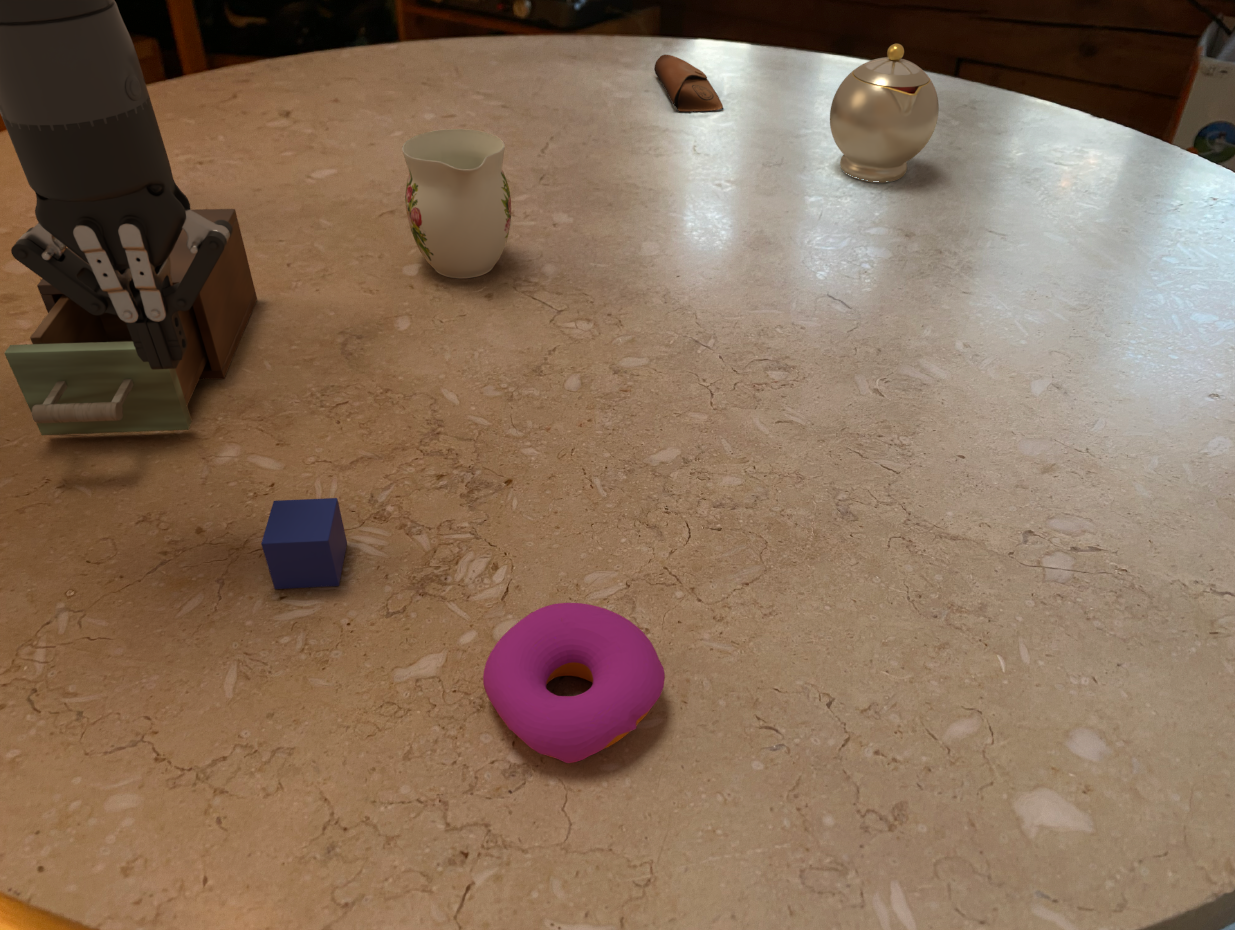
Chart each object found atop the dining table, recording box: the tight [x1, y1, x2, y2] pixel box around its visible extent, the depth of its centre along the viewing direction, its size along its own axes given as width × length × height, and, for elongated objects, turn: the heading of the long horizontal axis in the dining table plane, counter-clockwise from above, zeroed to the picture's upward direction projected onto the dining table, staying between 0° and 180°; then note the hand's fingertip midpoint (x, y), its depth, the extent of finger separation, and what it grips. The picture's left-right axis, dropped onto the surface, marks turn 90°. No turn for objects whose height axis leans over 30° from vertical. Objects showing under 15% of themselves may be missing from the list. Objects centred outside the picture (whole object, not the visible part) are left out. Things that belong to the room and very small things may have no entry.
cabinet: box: [36, 208, 258, 381], centre depth 87 cm, size 15×13×10 cm
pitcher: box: [401, 128, 512, 279], centre depth 100 cm, size 11×18×14 cm, turn 19°
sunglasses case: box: [653, 54, 724, 113], centre depth 150 cm, size 18×7×7 cm, turn 8°
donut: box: [482, 602, 666, 764], centre depth 57 cm, size 10×10×5 cm
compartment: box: [4, 294, 208, 436], centre depth 78 cm, size 18×12×8 cm, turn 5°
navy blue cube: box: [260, 497, 348, 590], centre depth 66 cm, size 4×4×4 cm
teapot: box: [829, 43, 940, 184], centre depth 123 cm, size 18×14×16 cm
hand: (167, 362), depth 63 cm, fingers closed
